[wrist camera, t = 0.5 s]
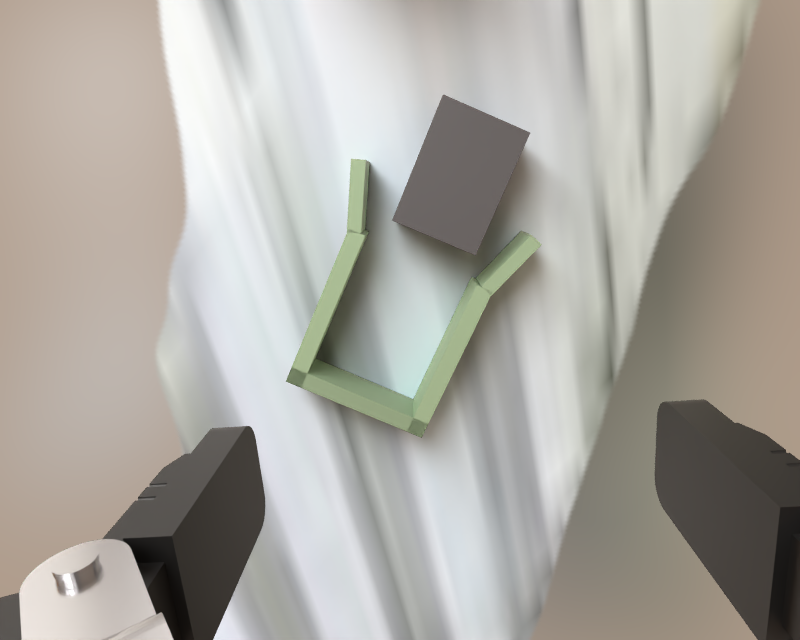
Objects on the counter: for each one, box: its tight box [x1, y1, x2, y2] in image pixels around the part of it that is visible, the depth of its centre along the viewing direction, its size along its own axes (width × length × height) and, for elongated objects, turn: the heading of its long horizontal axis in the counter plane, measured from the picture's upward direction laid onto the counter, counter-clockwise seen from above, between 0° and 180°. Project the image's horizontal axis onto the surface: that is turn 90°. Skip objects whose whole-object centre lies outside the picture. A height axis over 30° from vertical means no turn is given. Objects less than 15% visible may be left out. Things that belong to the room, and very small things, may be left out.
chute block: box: [392, 95, 530, 255], centre depth 32 cm, size 7×5×4 cm
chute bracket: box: [286, 159, 541, 438], centre depth 34 cm, size 14×12×3 cm
